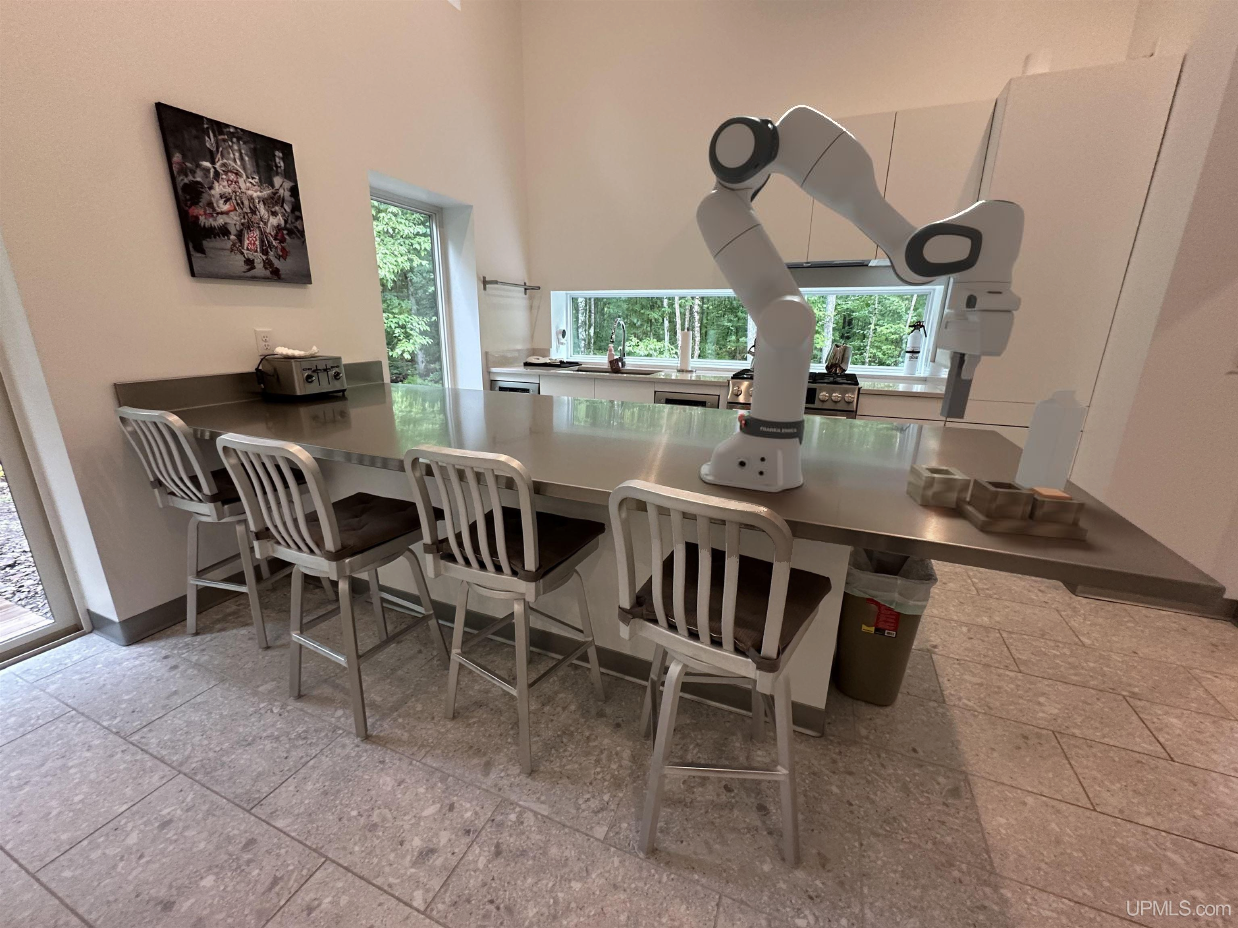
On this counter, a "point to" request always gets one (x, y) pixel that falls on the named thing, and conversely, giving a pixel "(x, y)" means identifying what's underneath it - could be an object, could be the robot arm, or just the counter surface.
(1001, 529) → the socket base
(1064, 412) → the milk
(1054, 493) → the button
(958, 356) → the steel peg
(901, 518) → the counter surface
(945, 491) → the beige hollow block
